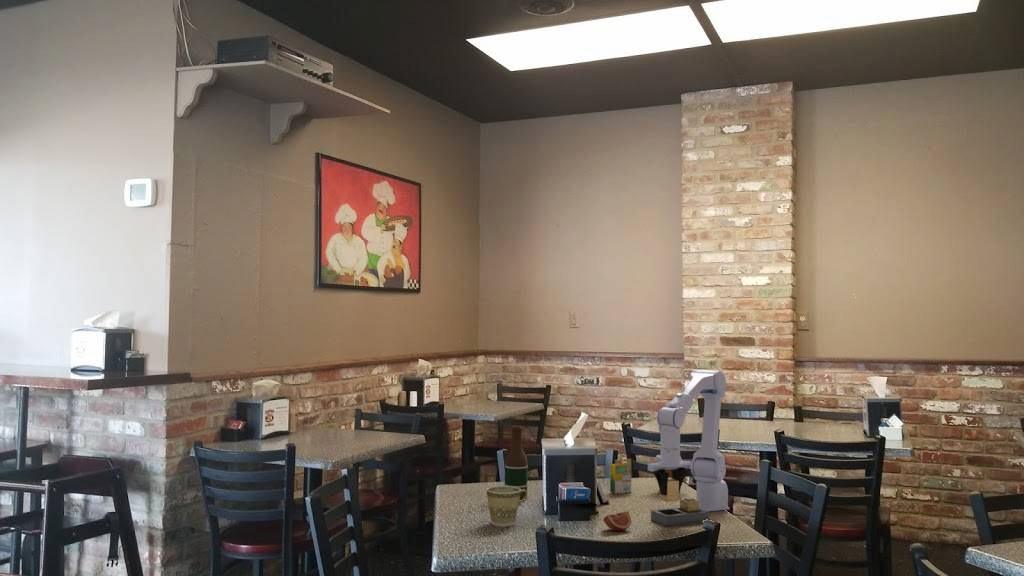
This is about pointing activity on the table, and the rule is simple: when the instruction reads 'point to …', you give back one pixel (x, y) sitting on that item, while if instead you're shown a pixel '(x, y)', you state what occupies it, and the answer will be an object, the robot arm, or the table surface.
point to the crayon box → (620, 476)
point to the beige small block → (671, 491)
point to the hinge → (601, 495)
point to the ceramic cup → (504, 504)
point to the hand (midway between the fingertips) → (670, 494)
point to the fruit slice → (618, 521)
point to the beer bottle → (516, 463)
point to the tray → (680, 514)
